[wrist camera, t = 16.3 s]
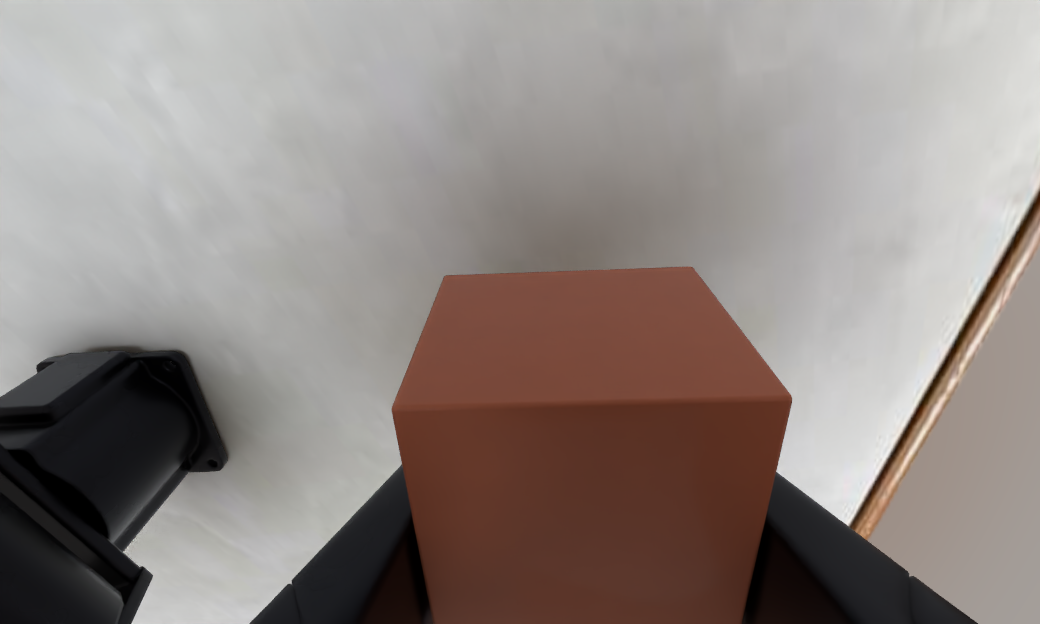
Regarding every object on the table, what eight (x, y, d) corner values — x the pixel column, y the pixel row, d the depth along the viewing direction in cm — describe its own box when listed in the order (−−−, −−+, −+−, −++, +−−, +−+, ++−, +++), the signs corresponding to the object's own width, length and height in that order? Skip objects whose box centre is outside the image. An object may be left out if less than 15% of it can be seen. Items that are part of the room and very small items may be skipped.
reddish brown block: (667, 508, 12) (724, 703, 8) (472, 512, 12) (447, 705, 8) (692, 265, 9) (796, 396, 6) (443, 274, 9) (388, 407, 6)
